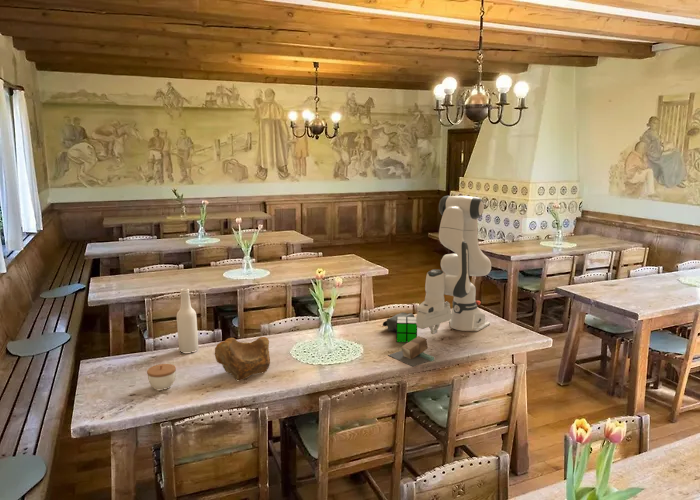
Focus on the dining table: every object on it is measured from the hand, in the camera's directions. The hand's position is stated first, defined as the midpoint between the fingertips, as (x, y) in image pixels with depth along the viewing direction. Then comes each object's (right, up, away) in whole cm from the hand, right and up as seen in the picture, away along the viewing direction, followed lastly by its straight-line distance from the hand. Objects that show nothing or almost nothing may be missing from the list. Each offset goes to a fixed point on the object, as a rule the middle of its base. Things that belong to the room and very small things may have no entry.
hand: (434, 333), depth 246 cm
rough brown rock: (-84, -14, -25) cm, 88 cm away
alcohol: (-115, -9, +2) cm, 116 cm away
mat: (-13, -10, -9) cm, 19 cm away
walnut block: (-6, -4, -4) cm, 8 cm away
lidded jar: (-114, -16, -36) cm, 121 cm away
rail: (-8, -9, -5) cm, 13 cm away
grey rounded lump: (-14, -3, +30) cm, 33 cm away
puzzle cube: (-11, -6, +15) cm, 20 cm away
